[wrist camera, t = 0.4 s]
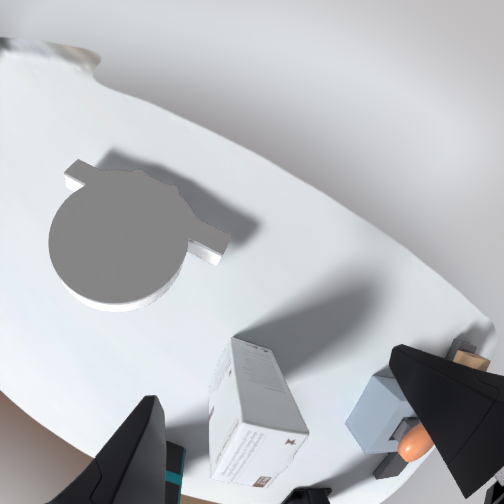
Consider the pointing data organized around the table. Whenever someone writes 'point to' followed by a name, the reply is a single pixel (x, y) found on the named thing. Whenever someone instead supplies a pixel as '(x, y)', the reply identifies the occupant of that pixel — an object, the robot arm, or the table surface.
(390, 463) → the rail
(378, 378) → the cabinet
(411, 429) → the button
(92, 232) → the grey elongated part
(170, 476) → the surveillance camera
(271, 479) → the skincare box
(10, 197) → the table surface
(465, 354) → the carriage
